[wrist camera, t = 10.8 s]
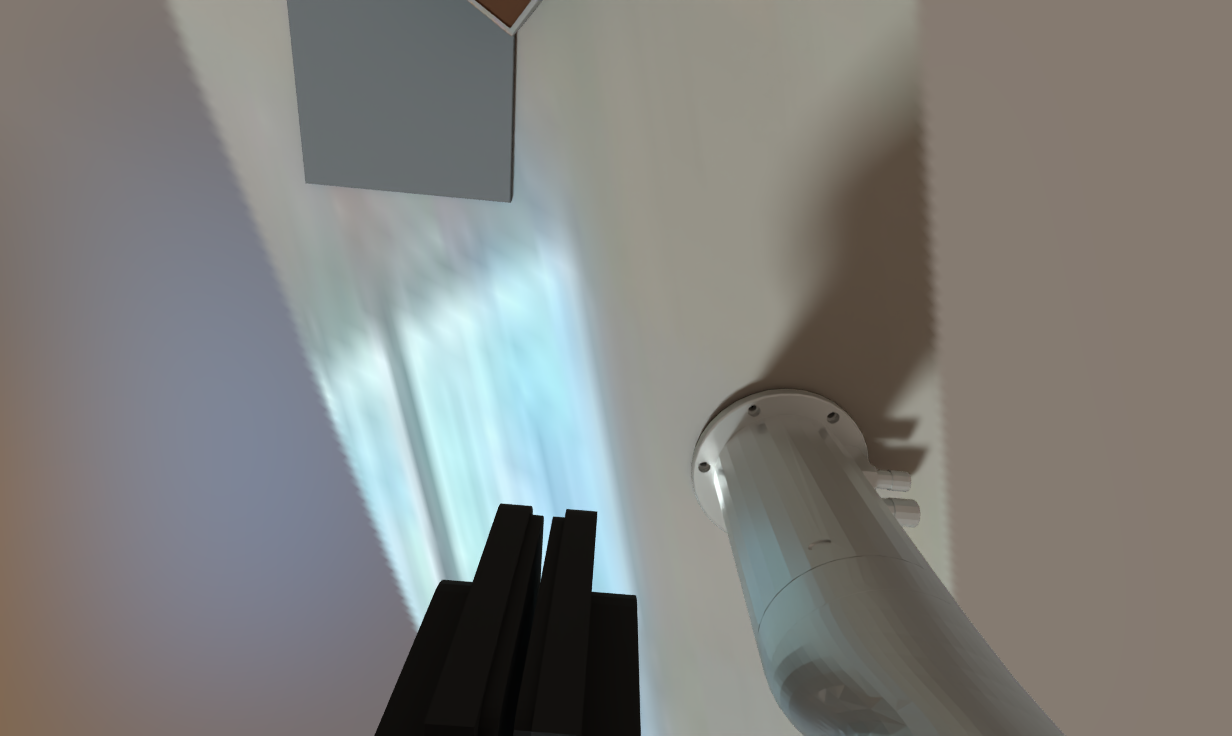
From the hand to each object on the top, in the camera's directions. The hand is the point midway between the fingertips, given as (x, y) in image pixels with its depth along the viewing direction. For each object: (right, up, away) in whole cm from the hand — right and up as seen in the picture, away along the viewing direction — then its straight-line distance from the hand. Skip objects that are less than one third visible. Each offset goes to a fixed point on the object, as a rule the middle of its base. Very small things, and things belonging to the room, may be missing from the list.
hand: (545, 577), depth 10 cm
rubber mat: (-11, +25, +22) cm, 35 cm away
